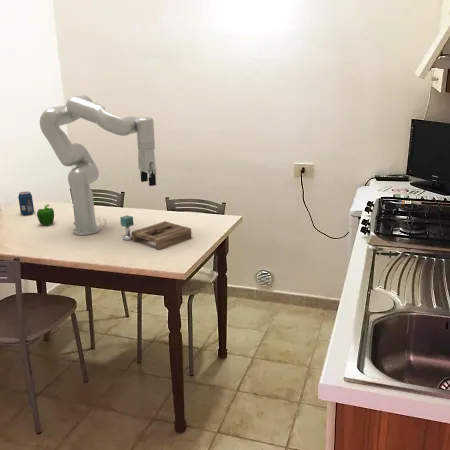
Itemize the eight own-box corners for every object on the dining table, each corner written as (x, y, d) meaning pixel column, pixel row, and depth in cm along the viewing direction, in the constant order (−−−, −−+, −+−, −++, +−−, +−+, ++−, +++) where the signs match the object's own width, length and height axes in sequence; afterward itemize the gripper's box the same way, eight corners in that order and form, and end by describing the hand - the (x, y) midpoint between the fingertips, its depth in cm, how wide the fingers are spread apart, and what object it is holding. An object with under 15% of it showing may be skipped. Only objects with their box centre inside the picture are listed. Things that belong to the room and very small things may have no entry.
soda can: (25, 212, 279) (21, 191, 276) (36, 212, 278) (33, 191, 275) (18, 215, 273) (15, 194, 269) (30, 216, 272) (27, 194, 268)
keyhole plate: (132, 241, 229) (131, 231, 228) (165, 230, 243) (164, 221, 242) (158, 249, 218) (157, 240, 216) (191, 237, 232) (191, 228, 230)
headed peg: (120, 239, 232) (118, 217, 229) (129, 236, 236) (127, 214, 233) (127, 241, 229) (125, 219, 226) (136, 238, 233) (134, 216, 229)
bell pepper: (42, 228, 251) (39, 208, 248) (36, 224, 257) (33, 205, 254) (58, 224, 257) (56, 205, 253) (52, 220, 262) (49, 202, 259)
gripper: (131, 144, 230) (133, 180, 235) (145, 149, 215) (147, 188, 221) (146, 142, 233) (149, 179, 239) (161, 147, 219) (163, 186, 224)
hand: (148, 183), depth 230 cm, fingers open, 9 cm apart
